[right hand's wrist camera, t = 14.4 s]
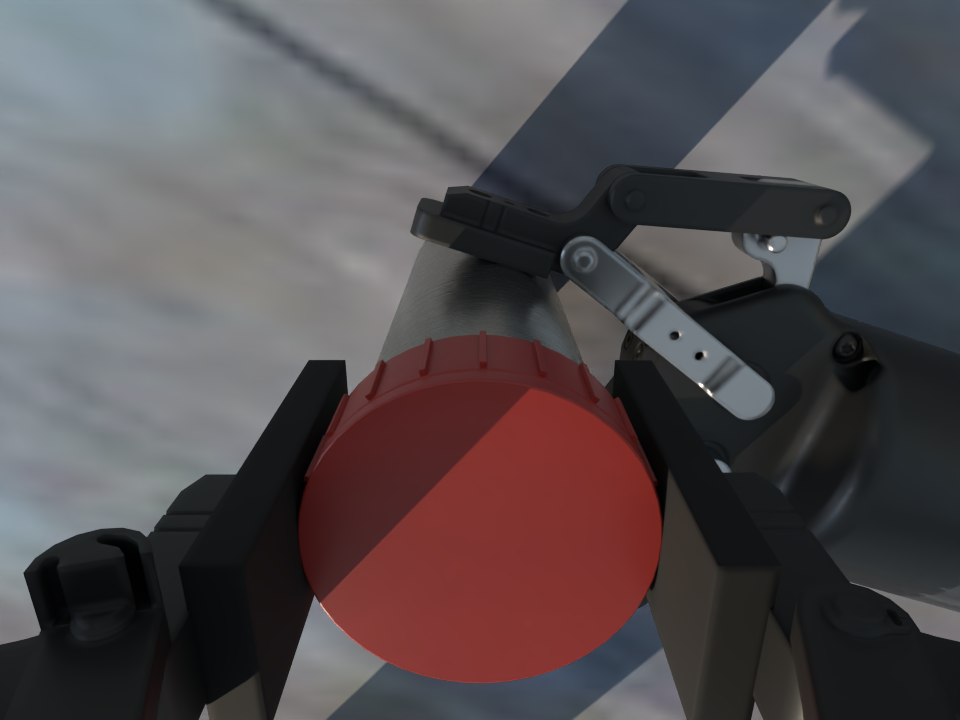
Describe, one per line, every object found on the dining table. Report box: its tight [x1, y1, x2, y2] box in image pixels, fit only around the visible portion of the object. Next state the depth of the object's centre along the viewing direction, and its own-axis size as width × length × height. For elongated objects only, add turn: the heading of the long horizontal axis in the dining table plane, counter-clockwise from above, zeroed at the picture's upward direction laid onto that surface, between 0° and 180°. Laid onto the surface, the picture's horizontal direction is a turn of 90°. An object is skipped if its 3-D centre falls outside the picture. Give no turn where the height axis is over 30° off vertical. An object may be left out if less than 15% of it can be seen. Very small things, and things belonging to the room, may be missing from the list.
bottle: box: [374, 241, 583, 370], centre depth 18 cm, size 5×5×15 cm
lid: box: [298, 331, 663, 683], centre depth 11 cm, size 6×6×2 cm
